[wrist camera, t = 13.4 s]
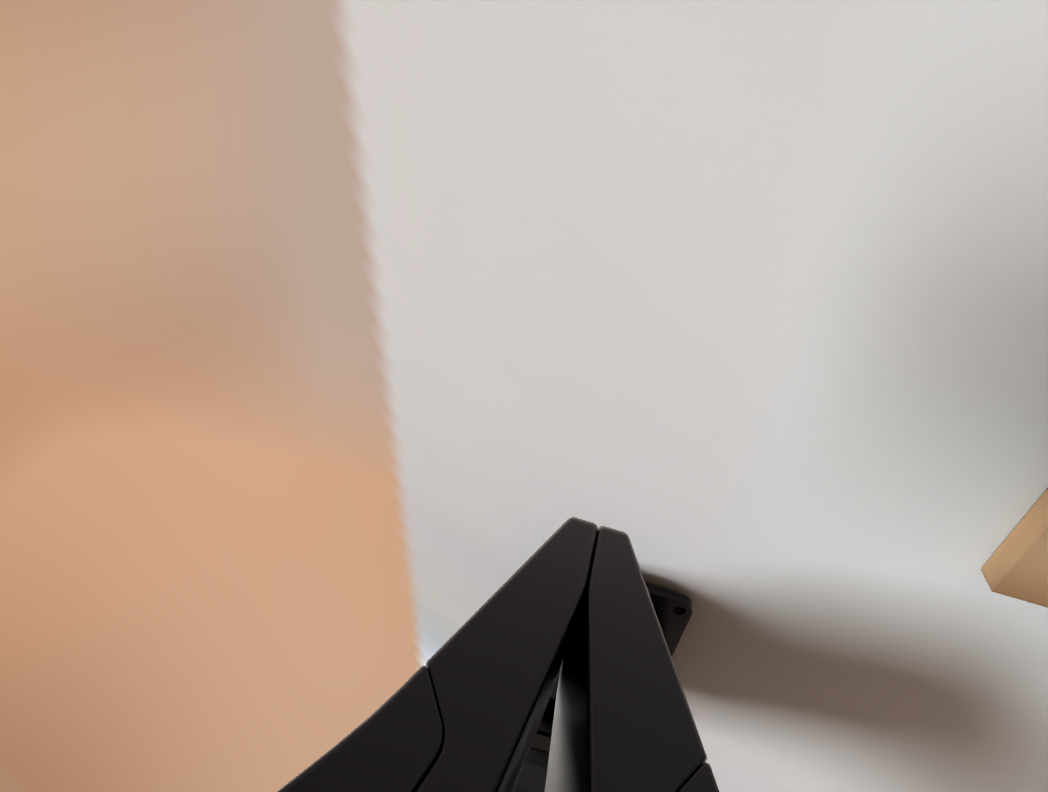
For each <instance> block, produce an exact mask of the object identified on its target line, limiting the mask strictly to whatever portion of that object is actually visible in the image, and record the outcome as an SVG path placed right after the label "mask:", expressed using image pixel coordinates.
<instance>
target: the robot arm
mask: <svg viewBox="0 0 1048 792" xmlns="http://www.w3.org/2000/svg"><path fill="white" fill-rule="evenodd" d="M677 606H680V607H677ZM681 607H682V608H681ZM691 615H692V602H691V600H690V599H689V598H688V597H686V596H684V595H681V594H678V593H675V592H672V591H668V590H665V589H662V588H659V587H656V586H652V585H649V584H646V583H645V581H644V579H643V576H642V573H641V570H640V567H639V565H638V562H637V559H636V556H635V553H634V550H633V548H632V545H631V542H630V539H629V537H628V535H627V534H626V533H624V532H622V531H618V530H615V529H612V528H608V527H605V526H601V527H600V528H599V529H598V527H597V525H596V524H594V523H592V522H588V521H585V520H582V519H578V518H575V517H572V518H570V519H568V520H567V521H566V522H565V523H564V524H563V525H562V526H561V527H560V528H559V529H558V530H557V531H556V532H555V533H554V534H553V535H552V536H551V537H550V538H549V539H548V540H547V541H546V542H545V543H544V544H543V545H542V546H541V547H540V548H539V549H538V550H537V551H536V552H535V553H534V554H533V555H532V556H531V557H530V558H529V559H528V560H527V561H526V562H525V563H524V564H523V565H522V566H521V567H520V568H519V569H518V570H517V571H516V572H515V573H514V574H513V575H512V577H511V578H510V579H509V580H508V581H507V582H506V583H505V584H504V585H503V586H502V587H501V588H500V589H499V590H498V591H497V592H496V593H495V594H494V595H493V596H492V597H491V598H490V599H489V600H488V601H487V602H486V603H485V604H484V605H483V606H482V607H481V608H480V609H479V610H478V611H477V612H476V613H475V614H474V615H473V616H472V617H471V618H470V619H469V620H468V621H467V622H466V623H465V624H464V625H463V626H462V627H461V628H460V629H459V630H458V631H457V632H456V633H455V634H454V635H453V636H452V637H451V638H450V639H449V640H448V641H447V642H446V643H445V644H444V645H443V646H442V647H441V648H440V649H439V650H438V651H437V652H436V653H435V654H434V655H433V656H432V657H431V658H430V659H429V660H428V661H427V663H426V666H422V667H421V668H420V669H419V670H418V671H417V672H416V673H415V674H414V675H413V676H412V677H411V678H410V679H409V680H408V681H407V682H406V683H405V684H404V685H403V686H402V687H401V688H400V689H399V690H398V691H397V692H396V693H395V694H394V695H393V696H391V697H390V698H389V699H388V700H387V701H386V702H385V703H384V704H383V705H382V706H381V707H380V708H379V709H378V710H377V711H376V712H374V713H373V714H372V715H371V716H370V717H369V718H368V719H367V720H365V721H364V722H363V723H362V724H361V725H359V726H358V728H356V729H355V730H353V731H352V732H351V733H350V734H349V735H347V737H345V738H344V739H343V740H342V741H340V742H339V743H338V744H337V745H336V746H334V747H333V748H332V749H331V750H329V751H328V752H327V753H326V754H325V755H323V756H322V757H320V758H319V759H318V760H317V761H316V762H314V763H313V764H312V765H311V766H309V767H308V768H307V769H305V770H304V771H303V772H302V773H300V774H299V775H298V776H296V777H295V778H294V779H293V780H291V781H290V782H289V783H288V784H286V785H285V786H284V787H282V788H281V789H280V790H279V791H277V792H719V789H718V787H717V784H716V781H715V778H714V775H713V772H712V769H711V767H710V765H709V764H708V763H706V760H707V756H706V753H705V751H704V748H703V745H702V742H701V739H700V736H699V734H698V731H697V728H696V725H695V722H694V720H693V717H692V714H691V711H690V708H689V705H688V703H687V700H686V697H685V694H684V691H683V689H682V686H681V683H680V680H679V677H678V674H677V672H676V669H675V666H674V663H673V660H672V658H671V657H672V654H673V652H674V650H675V648H676V646H677V644H678V642H679V640H680V638H681V636H682V634H683V631H684V629H685V627H686V625H687V623H688V621H689V619H690V617H691Z"/></svg>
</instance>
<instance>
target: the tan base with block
mask: <svg viewBox="0 0 1048 792" xmlns="http://www.w3.org/2000/svg"><path fill="white" fill-rule="evenodd" d="M981 571H982V573H983V575H984V577H985V579H986V581H987V583H988V585H989V587H990V589H991V591H993V592H996V593H999V594H1003V595H1006V596H1010V597H1013V598H1017V599H1020V600H1024V601H1027V602H1030V603H1034V604H1037V605H1041V606H1044V607H1048V488H1047V489H1046V491H1045V492H1044V493H1043V494H1042V496H1041V497H1040V498H1039V499H1038V500H1037V502H1036V503H1035V504H1034V505H1033V506H1032V508H1031V509H1030V510H1029V511H1028V512H1027V514H1026V515H1025V516H1024V517H1023V519H1022V520H1021V521H1020V522H1019V523H1018V525H1017V526H1016V527H1015V528H1014V529H1013V531H1012V532H1011V533H1010V534H1009V535H1008V537H1007V538H1006V539H1005V540H1004V542H1003V543H1002V544H1001V545H1000V546H999V548H998V549H997V550H996V551H995V552H994V554H993V555H992V556H991V557H990V558H989V560H988V561H987V562H986V563H985V565H984V566H983V567H982V568H981Z"/></svg>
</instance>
